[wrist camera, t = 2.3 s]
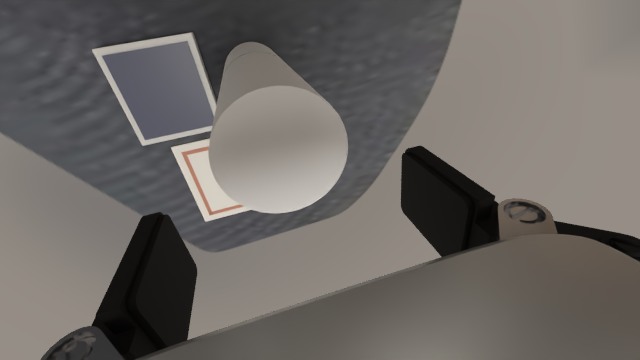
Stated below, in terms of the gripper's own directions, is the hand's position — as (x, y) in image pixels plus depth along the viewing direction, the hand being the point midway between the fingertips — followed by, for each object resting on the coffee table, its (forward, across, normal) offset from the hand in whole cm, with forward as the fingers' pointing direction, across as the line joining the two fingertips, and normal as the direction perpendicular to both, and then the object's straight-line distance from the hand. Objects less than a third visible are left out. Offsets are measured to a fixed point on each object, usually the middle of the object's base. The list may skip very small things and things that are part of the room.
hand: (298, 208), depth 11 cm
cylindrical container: (+29, 0, -1) cm, 29 cm away
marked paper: (+29, +6, +13) cm, 33 cm away
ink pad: (+29, +10, -1) cm, 31 cm away
